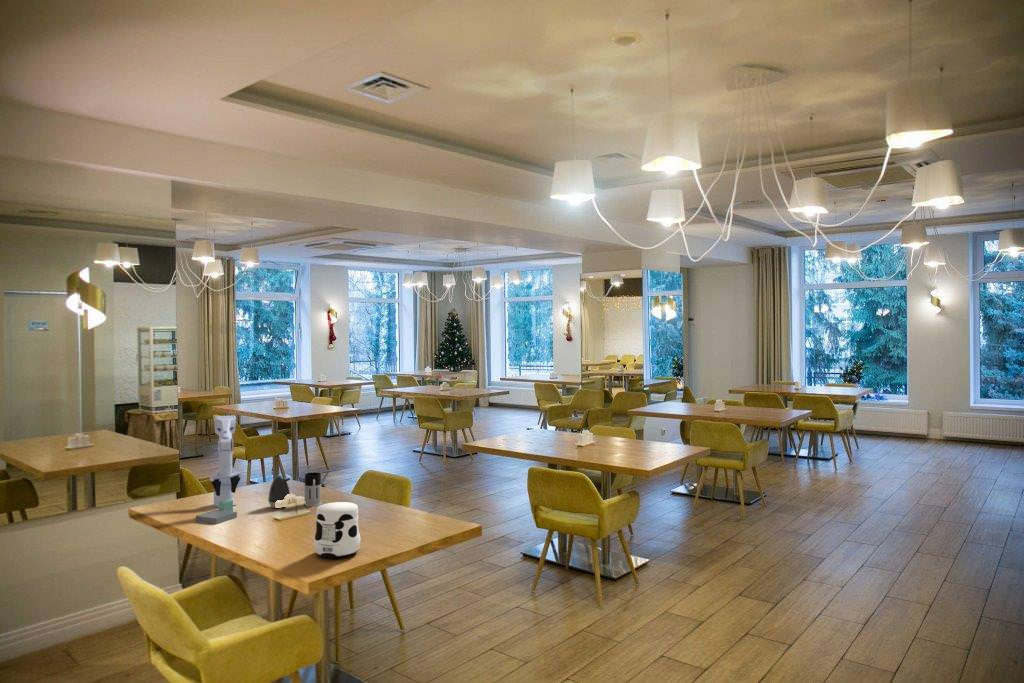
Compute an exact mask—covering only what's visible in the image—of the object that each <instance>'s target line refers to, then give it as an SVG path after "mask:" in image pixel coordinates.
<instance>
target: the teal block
mask: <svg viewBox="0 0 1024 683" xmlns="http://www.w3.org/2000/svg"><path fill="white" fill-rule="evenodd" d="M233 503H234V500H233V501H232V500H229V499H227V500H222V501H219V507H218V510H225V511H233V512H234V506H233Z"/></svg>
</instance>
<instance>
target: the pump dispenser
mask: <svg viewBox="0 0 1024 683" xmlns="http://www.w3.org/2000/svg"><path fill="white" fill-rule="evenodd" d="M288 481H291V477H288V478H285V476H282V475H277V476H276V477H274V479H273V480H272V483H271V484H270V487H269V493H268V502H269V505H270V507H271V508H273V509H275V508H274V507H275V502H276V501H277V500H283V499H284V497H285V496H286V495H287V494H290V495H291V491H290V487H289V486H290V485H289V483H288Z"/></svg>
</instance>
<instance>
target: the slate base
mask: <svg viewBox="0 0 1024 683" xmlns="http://www.w3.org/2000/svg"><path fill="white" fill-rule="evenodd" d="M237 518H238V512H237V511H234V510H233V511H225V510H219V509H213V510H211V511H207V512H204V513H201V514H197V515H195V522H199V523H205V524H212V525H218V524H221V523H224V522H227V521H230V520H231V521H232V520H233V519H237Z"/></svg>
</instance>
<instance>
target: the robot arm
mask: <svg viewBox="0 0 1024 683" xmlns="http://www.w3.org/2000/svg"><path fill="white" fill-rule="evenodd" d="M213 426H214V427H213V428H214V433H215V435H216V436H218V441H217V452H218V456H219V457H218V468H217V469H216V470H215V472H214V475H211V476H209V481H210V483H211V485H212V486H213V489H214V490H213V503H212V504H211V506H214V507H217V508H219V501H222V500H227V499H229V500H232V501H233V507H234V506H238V503H234V494H235V493H236V490H237V487H238V484H239V482H240V481H241V476H242V472H241V471H237V470H236V469H235V468H233V451H234V439H233V434H235V433H236V426H237V419H236V415H234V414H232V415H218V416H217V415H215V416H214V425H213Z"/></svg>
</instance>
